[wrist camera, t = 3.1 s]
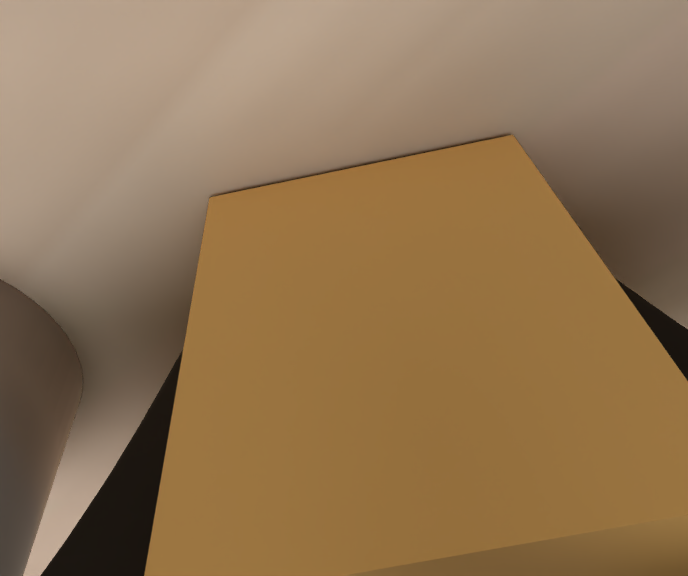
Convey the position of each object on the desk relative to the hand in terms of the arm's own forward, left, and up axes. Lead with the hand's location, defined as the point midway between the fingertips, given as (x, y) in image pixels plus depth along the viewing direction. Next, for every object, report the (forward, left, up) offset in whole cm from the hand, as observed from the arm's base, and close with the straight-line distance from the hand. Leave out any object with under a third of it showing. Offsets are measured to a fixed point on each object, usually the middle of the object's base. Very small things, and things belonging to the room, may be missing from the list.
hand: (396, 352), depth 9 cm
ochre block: (0, 0, -2) cm, 2 cm away
